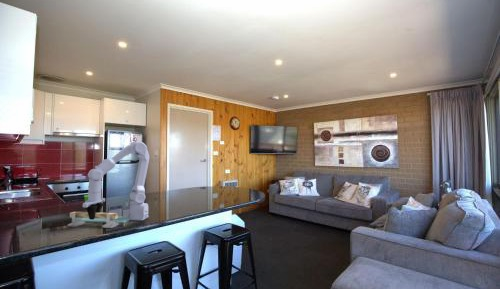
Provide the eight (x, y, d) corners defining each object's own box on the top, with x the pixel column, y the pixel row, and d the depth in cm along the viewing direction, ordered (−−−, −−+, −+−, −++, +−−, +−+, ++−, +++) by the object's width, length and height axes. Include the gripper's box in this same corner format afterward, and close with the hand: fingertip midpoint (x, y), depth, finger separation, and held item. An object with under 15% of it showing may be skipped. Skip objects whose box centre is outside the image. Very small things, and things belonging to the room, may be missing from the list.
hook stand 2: (118, 224, 130) (119, 212, 130) (111, 228, 124) (112, 215, 124) (109, 224, 130) (109, 212, 131) (102, 227, 124) (102, 215, 125)
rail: (117, 217, 129) (118, 213, 129) (115, 219, 126) (115, 214, 126) (73, 216, 130) (73, 211, 130) (69, 217, 127) (69, 212, 127)
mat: (133, 218, 143) (133, 216, 143) (124, 223, 133) (124, 221, 133) (89, 216, 144) (89, 215, 144) (77, 221, 134) (77, 220, 134)
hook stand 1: (85, 223, 131) (85, 211, 131) (77, 226, 125) (77, 214, 125) (76, 223, 131) (76, 211, 131) (67, 226, 125) (68, 214, 125)
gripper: (96, 189, 136) (95, 214, 135) (77, 194, 121) (75, 222, 121) (109, 190, 135) (108, 215, 135) (91, 194, 121) (89, 222, 120)
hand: (93, 218), depth 128 cm, fingers closed on rail, 2 cm apart
